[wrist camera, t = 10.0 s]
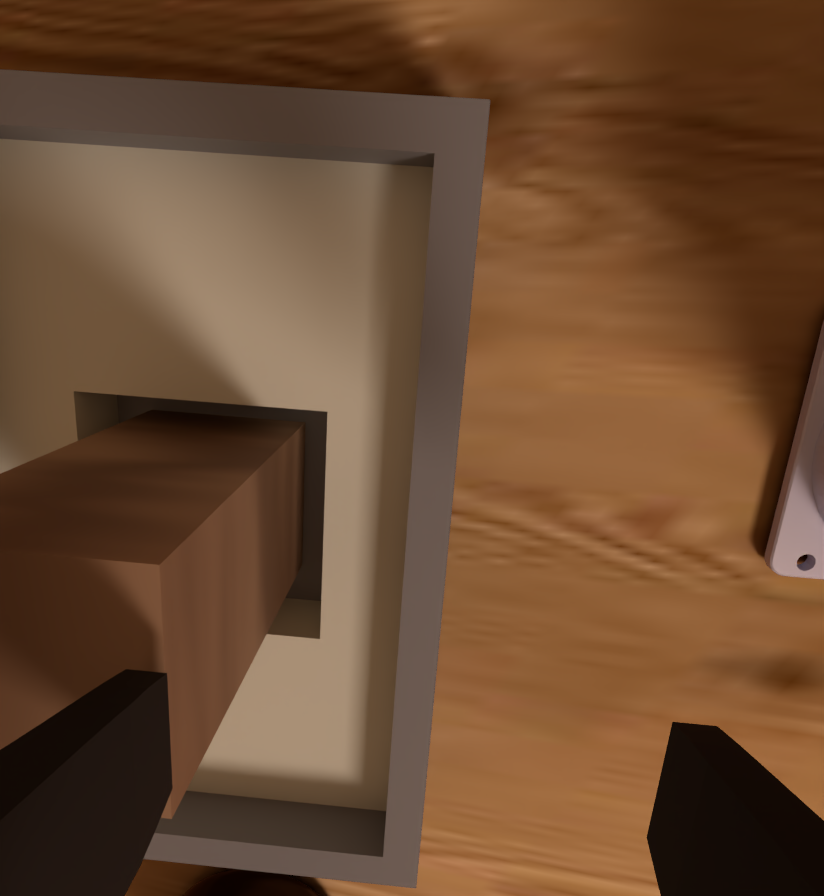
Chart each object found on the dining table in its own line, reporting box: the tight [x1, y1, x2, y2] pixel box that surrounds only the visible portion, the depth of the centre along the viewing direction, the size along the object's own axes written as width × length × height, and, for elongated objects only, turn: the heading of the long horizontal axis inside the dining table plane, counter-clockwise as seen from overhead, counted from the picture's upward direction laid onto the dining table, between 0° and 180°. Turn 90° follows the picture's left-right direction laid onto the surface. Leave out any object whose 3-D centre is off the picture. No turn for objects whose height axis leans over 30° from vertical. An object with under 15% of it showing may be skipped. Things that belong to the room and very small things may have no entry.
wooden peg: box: [0, 410, 305, 819], centre depth 13 cm, size 4×4×9 cm
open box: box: [0, 69, 490, 888], centre depth 16 cm, size 13×20×4 cm, turn 176°
